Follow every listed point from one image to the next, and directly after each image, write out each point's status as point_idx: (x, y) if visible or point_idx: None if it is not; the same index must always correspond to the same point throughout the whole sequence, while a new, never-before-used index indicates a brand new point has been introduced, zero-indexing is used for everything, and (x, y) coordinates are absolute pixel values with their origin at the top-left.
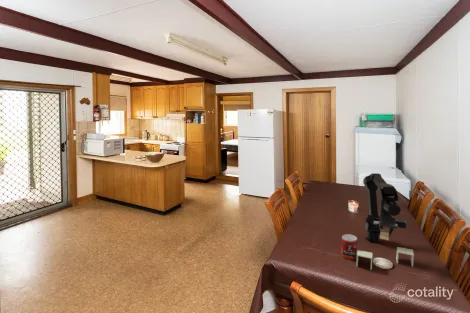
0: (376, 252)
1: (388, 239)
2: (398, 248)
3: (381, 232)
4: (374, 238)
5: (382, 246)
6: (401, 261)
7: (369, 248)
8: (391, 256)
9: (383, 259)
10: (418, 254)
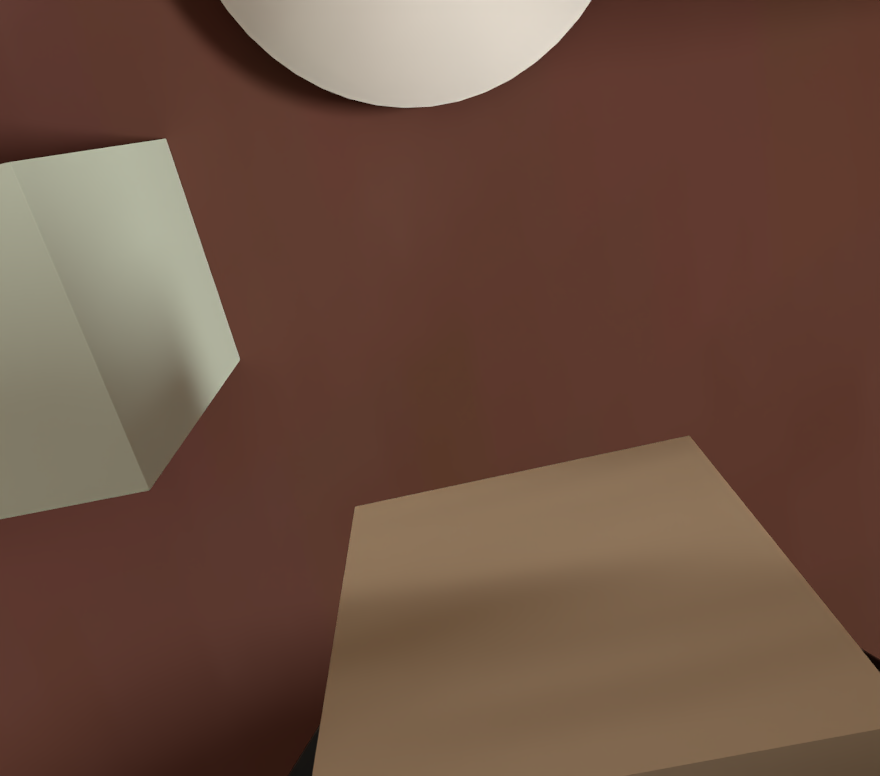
0: (610, 360)
1: (359, 526)
2: (84, 416)
3: (821, 696)
4: None
5: None
6: None
7: (753, 440)
8: (332, 374)
9: (418, 35)
10: (6, 701)
